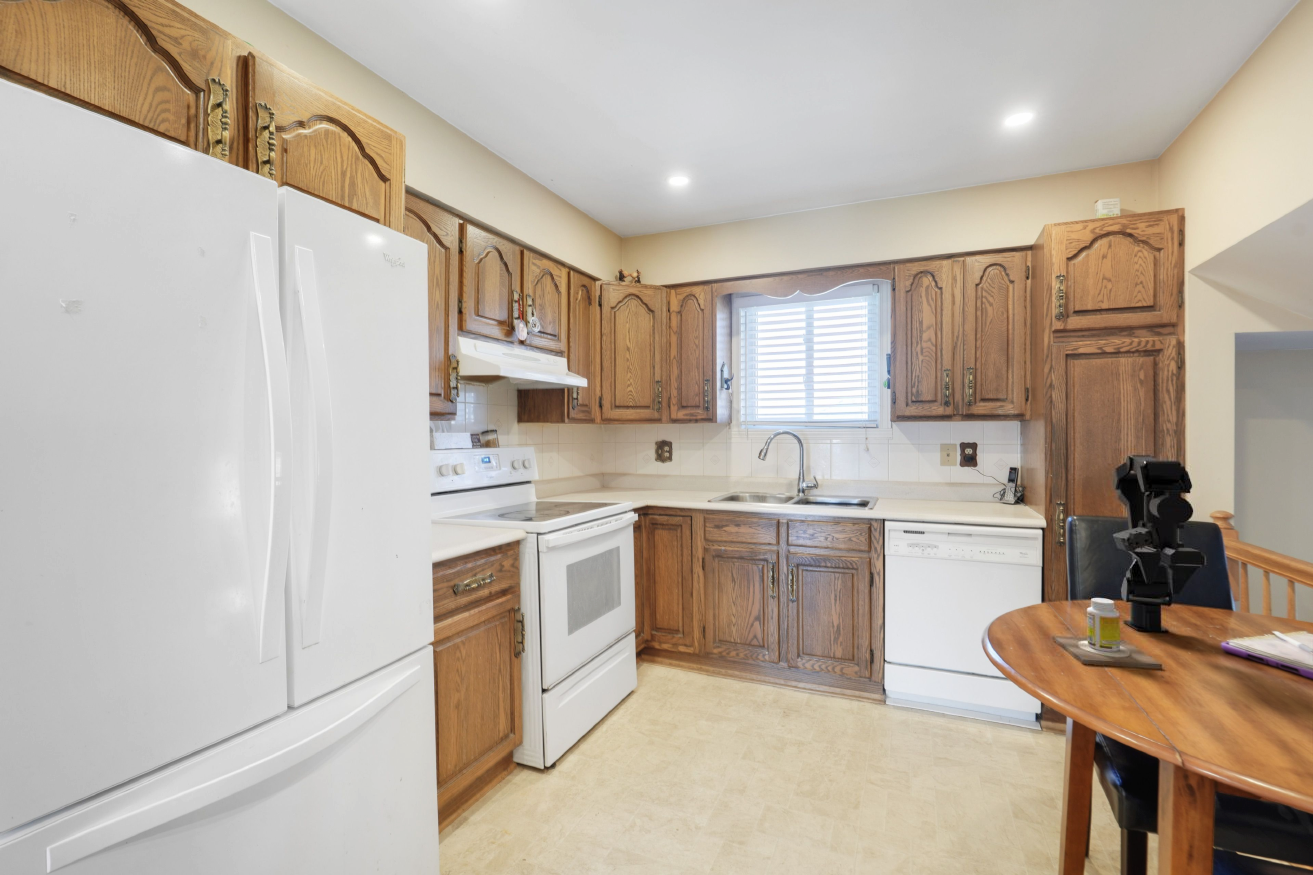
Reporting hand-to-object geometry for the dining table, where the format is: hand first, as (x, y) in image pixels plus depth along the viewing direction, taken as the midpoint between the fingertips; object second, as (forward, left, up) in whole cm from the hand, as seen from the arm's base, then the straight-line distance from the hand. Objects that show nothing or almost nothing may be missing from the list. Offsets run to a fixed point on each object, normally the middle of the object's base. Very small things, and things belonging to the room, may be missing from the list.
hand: (1161, 588), depth 128 cm
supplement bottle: (+6, -14, -12) cm, 19 cm away
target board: (+6, -14, -13) cm, 20 cm away
